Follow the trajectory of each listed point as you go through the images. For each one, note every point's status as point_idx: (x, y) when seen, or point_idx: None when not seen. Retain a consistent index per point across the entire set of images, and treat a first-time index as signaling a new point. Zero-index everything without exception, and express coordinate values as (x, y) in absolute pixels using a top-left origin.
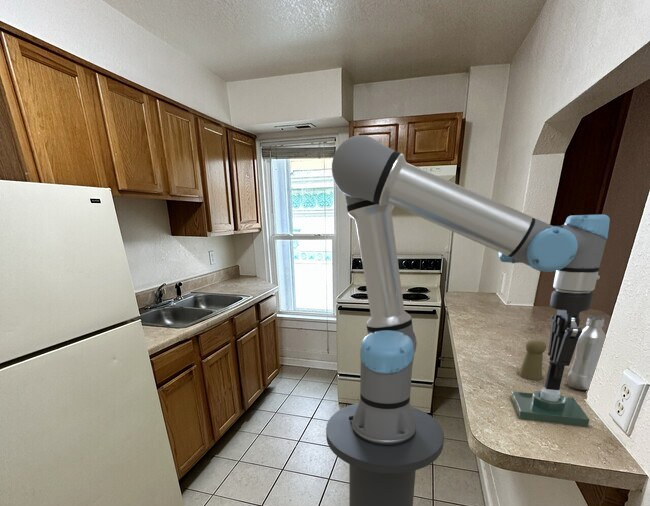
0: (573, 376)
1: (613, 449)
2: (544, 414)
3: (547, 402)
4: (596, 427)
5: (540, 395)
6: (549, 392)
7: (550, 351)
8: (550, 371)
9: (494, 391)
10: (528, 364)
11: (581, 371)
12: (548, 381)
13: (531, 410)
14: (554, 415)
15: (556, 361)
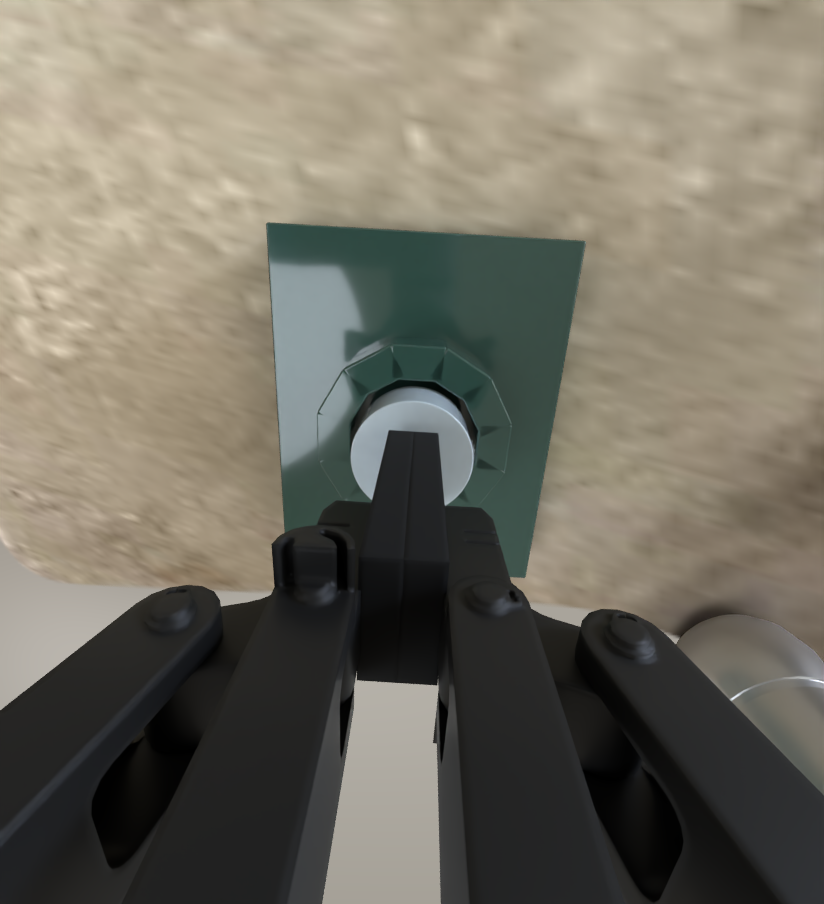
0: (749, 666)
1: (141, 561)
2: (276, 367)
3: (321, 405)
4: None
5: (413, 389)
6: (382, 443)
7: (608, 685)
8: (372, 506)
9: (680, 135)
10: None
11: None
12: (384, 459)
13: (299, 301)
14: (279, 418)
15: (152, 623)
